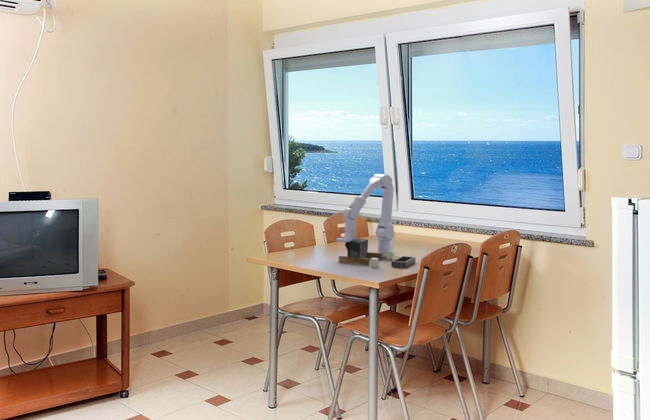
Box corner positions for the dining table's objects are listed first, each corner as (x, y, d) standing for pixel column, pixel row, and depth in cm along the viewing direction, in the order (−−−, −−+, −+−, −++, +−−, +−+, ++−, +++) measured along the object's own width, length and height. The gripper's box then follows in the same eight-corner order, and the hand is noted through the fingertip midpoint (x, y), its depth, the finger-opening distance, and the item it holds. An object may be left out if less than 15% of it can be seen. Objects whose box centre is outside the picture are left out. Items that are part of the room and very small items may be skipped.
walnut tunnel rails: (354, 256, 338) (354, 250, 338) (382, 258, 331) (382, 253, 331) (338, 262, 320) (338, 256, 320) (368, 265, 313) (368, 259, 313)
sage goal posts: (389, 258, 333) (389, 250, 332) (394, 258, 331) (394, 251, 331) (370, 266, 309) (370, 258, 309) (376, 267, 308) (376, 259, 308)
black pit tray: (402, 261, 324) (402, 256, 324) (415, 262, 321) (415, 257, 321) (391, 266, 310) (391, 261, 310) (405, 268, 307) (405, 262, 307)
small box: (355, 257, 333) (357, 237, 331) (367, 259, 330) (369, 239, 328) (347, 260, 323) (349, 240, 322) (359, 262, 320) (360, 242, 319)
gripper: (334, 230, 326) (333, 256, 328) (360, 232, 320) (359, 259, 321) (340, 229, 333) (339, 254, 334) (365, 231, 326) (364, 257, 328)
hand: (349, 256), depth 328 cm, fingers closed
